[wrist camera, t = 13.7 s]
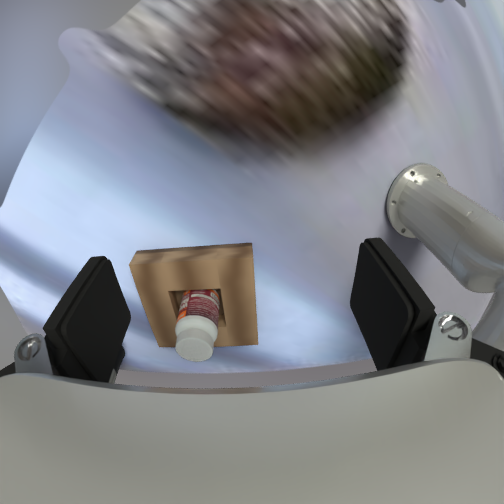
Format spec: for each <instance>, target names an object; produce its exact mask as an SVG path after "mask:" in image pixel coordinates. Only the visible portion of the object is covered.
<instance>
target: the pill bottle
mask: <svg viewBox="0 0 504 504" xmlns="http://www.w3.org/2000/svg"><path fill="white" fill-rule="evenodd" d="M219 305H220V298H219V295H218V293H217V292H216V291H215V290H214V289H201V290H185V291H184V293H183V296H182V300H181V305H180V309H179V314H178V318H177V323H176V328H175V332H176V336H177V341H176V351H177V353H178V354H179V355H180V356H181V357H183V358H184V359H186V360H189V361H195V362H200V361H205V360H207V359H209V358H210V357H211V356H212V354H213V346H214V342H215V340H216V339H217V335H218V317H219Z"/></svg>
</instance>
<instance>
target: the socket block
mask: <svg viewBox="0 0 504 504" xmlns="http://www.w3.org/2000/svg"><path fill="white" fill-rule="evenodd" d="M129 266H130V270H131V273H132V276H133V279H134V282H135V285H136V288H137V291H138V293H139V296H140V299H141V302H142V305H143V307H144V310H145V313H146V315H147V318H148V320H149V323H150V326H151V328H152V331H153V333H154V335H155V338H156V340H157V343H158V345H159V347H176V341H177V336H176V332H175V328H176V323H177V318H178V314H179V309H180V305H181V300H182V296H183V293H184V291H185V290H201V289H214V290H215V291H216V292H217V293H218V295H219V298H220V305H219V317H218V335H217V339H216V340H215V342H214V346H213V347H221V346H243V345H258V331H257V314H256V297H255V280H254V263H253V249H252V243H240V244H225V245H210V246H196V247H182V248H168V249H154V250H141V251H137V252H136V253H135V255H134V257H133V259H132V260H131V262H130V264H129Z"/></svg>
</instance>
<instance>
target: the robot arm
mask: <svg viewBox="0 0 504 504" xmlns="http://www.w3.org/2000/svg"><path fill="white" fill-rule="evenodd" d="M387 215H388V218H389V221H390V223H391V225H392V226H393V228H394V229H395V230H396V231H397V232H398V233H399V234H401V235H403V236H405V237H408V238H418V239H419V240H420V241H421V242H422V243H423V244H424V245H425V246H426V247H427V248H428V249H429V250H430V251H431V252H432V253H433V254H434V255H435V257H436V258H437V259H438V260H439V261H440V262H441V263H442V264H443V265H444V266H445V267H446V268H447V269H448V270H449V272H450V273H451V274H452V275H453V276H454V277H455V278H456V279H457V280H458V281H459V283H460V284H461V285H462V286H463V287H465V288H466V289H468V290H470V291H472V292H476V293H493V292H496V293H495V297H494V299H493V301H492V303H491V304H490V306H489V308H488V310H487V311H486V313H485V314H484V316H483V317H482V319H481V320H480V321H479V323H478V324H477V326H476V327H475V328H474V330H473V331H472V329H471V327H470V324H469V323H468V322H467V321H466V319H464V318H463V317H462V316H460V315H458V314H456V313H453V312H442V313H439V314H438V315H437V314H436V313H435V311H434V309H435V306H434V305H433V303H432V302H431V301H430V299H429V298H428V297H427V295H426V294H425V292H424V291H423V290H422V288H421V287H420V286H419V284H418V283H417V282H416V281H415V279H414V278H413V277H412V275H411V274H410V273H409V271H408V270H407V269H406V268H405V266H404V265H403V264H402V263H401V261H400V260H399V259H398V258H397V257H396V255H395V254H394V253H393V252H392V250H391V249H390V248H389V247H388V246H387V245H386V243H385V242H384V241H383V240H382V239H381V238H368V239H365V241H364V243H361V244H360V248H359V254H358V260H357V266H356V272H355V278H354V283H353V288H352V293H351V298H350V306H351V309H352V312H353V314H354V316H355V318H356V321H357V323H358V325H359V328H360V330H361V332H362V334H363V337H364V339H365V342H366V344H367V346H368V349H369V351H370V354H371V356H372V358H373V361H374V363H375V366H376V368H377V371H375V372H370V373H364V374H358V375H353V376H347V377H341V378H335V379H329V380H322V381H314V382H307V383H298V384H288V385H277V386H264V387H249V388H223V389H222V388H221V389H188V388H187V389H185V388H161V387H144V386H132V385H122V384H112V383H109V380H110V377H111V374H112V371H113V368H114V365H115V362H116V359H117V356H118V353H119V350H120V348H121V345H122V342H123V339H124V337H125V334H126V331H127V329H128V326H129V323H130V320H131V315H130V311H129V309H128V306H127V304H126V301H125V299H124V296H123V293H122V291H121V288H120V285H119V283H118V280H117V277H116V274H115V272H114V269H113V266H112V263H111V261H110V260H109V259H108V260H107V258H106V257H105V256H98V257H91V258H90V259H89V260H88V262H87V263H86V264H85V266H84V267H83V268H82V270H81V271H80V272H79V274H78V275H77V277H76V278H75V279H74V281H73V282H72V284H71V285H70V286H69V288H68V289H67V291H66V292H65V294H64V295H63V297H62V298H61V300H60V301H59V303H58V304H57V306H56V307H55V309H54V310H53V312H52V314H51V315H50V317H49V318H48V320H47V322H46V323H45V325H44V327H43V330H44V331H45V333H46V336H45V338H44V337H43V336H42V335H41V334H37V333H36V334H31V335H28V336H26V337H25V338H23V339H22V340H21V341H20V342H19V344H18V345H17V347H16V349H15V352H14V360H15V362H13V363H12V364H10V365H8V366H7V367H5V368H3V369H2V370H0V504H504V221H502V220H501V219H499V218H498V217H497V216H495V215H494V214H492V213H491V212H489V211H488V210H486V209H485V208H483V207H482V206H480V205H479V204H477V203H476V202H474V201H473V200H471V199H470V198H468V197H467V196H465V195H463V194H462V193H460V192H458V191H457V190H455V189H453V188H452V187H450V186H448V183H447V180H446V178H445V176H444V175H443V173H442V172H441V171H440V170H439V169H437V168H435V167H434V166H432V165H429V164H424V163H420V164H414V165H412V166H409V167H408V168H406V169H405V170H403V171H402V172H401V173H400V174H399V175H398V177H397V178H396V179H395V181H394V182H393V184H392V186H391V188H390V191H389V194H388V198H387Z"/></svg>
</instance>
